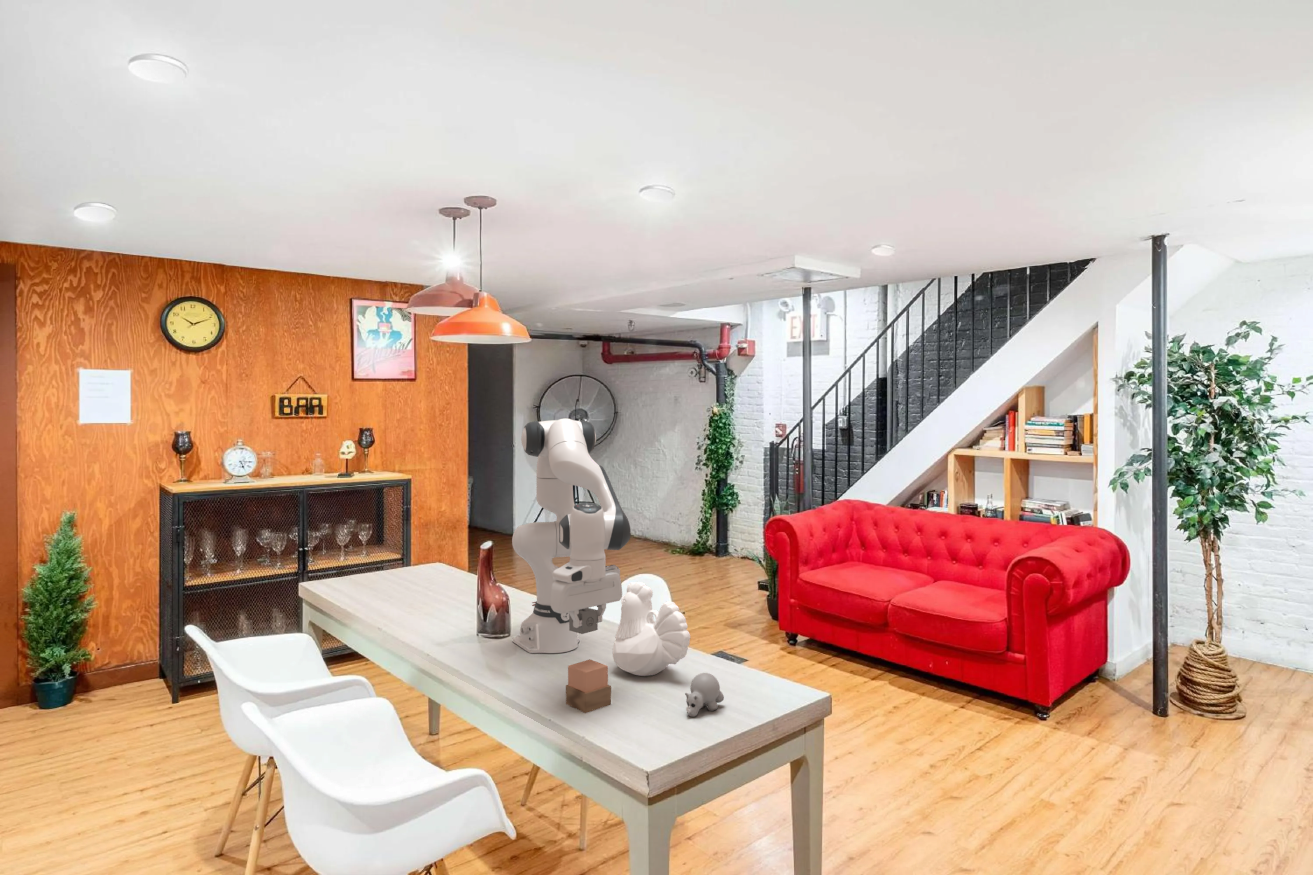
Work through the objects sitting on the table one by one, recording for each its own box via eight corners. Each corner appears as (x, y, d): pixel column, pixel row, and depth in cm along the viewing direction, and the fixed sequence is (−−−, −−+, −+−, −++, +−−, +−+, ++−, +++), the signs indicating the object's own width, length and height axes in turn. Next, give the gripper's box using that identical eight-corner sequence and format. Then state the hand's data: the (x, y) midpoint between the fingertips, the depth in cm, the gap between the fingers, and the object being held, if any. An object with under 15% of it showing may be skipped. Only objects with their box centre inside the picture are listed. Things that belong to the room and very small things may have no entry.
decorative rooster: (602, 668, 217) (602, 581, 217) (648, 657, 226) (648, 574, 226) (652, 694, 197) (652, 599, 196) (700, 682, 206) (700, 590, 205)
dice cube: (584, 626, 194) (584, 606, 194) (597, 629, 191) (597, 609, 191) (569, 630, 191) (569, 610, 191) (582, 633, 187) (582, 613, 187)
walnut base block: (565, 704, 190) (565, 685, 190) (591, 696, 196) (591, 677, 196) (585, 714, 185) (585, 693, 185) (611, 705, 190) (611, 685, 190)
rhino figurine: (679, 723, 185) (670, 694, 183) (705, 691, 194) (698, 664, 191) (703, 730, 181) (694, 701, 178) (729, 698, 189) (721, 669, 187)
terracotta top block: (568, 685, 190) (568, 665, 190) (589, 678, 195) (589, 659, 195) (585, 692, 185) (585, 672, 185) (607, 685, 190) (607, 665, 190)
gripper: (611, 561, 199) (611, 614, 199) (546, 573, 184) (547, 629, 185) (627, 565, 194) (627, 619, 194) (562, 577, 180) (562, 635, 180)
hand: (587, 624), depth 190 cm, fingers closed on dice cube, 5 cm apart
